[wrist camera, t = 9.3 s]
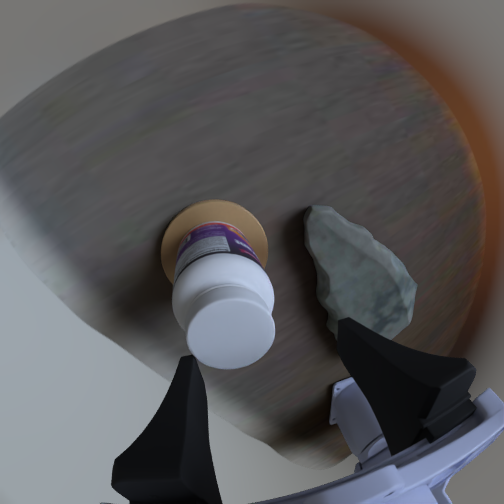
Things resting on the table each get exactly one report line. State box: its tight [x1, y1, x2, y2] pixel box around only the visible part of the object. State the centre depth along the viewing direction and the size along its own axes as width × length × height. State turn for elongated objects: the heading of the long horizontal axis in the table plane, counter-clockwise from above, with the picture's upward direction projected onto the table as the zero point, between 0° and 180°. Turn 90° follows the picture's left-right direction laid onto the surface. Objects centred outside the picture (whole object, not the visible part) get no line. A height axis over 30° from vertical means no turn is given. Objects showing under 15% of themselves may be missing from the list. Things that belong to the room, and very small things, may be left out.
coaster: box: [161, 200, 268, 284], centre depth 21 cm, size 8×8×1 cm
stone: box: [303, 205, 417, 340], centre depth 24 cm, size 17×3×10 cm
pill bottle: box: [172, 221, 275, 369], centre depth 17 cm, size 5×5×10 cm
